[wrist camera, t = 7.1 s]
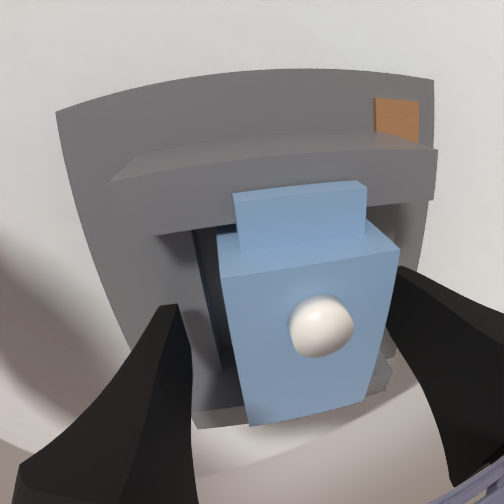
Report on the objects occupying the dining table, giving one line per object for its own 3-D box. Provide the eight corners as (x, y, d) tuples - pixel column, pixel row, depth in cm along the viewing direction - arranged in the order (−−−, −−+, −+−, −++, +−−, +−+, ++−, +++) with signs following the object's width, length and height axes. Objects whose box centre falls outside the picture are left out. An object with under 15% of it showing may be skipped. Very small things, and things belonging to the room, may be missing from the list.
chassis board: (158, 386, 16) (154, 451, 12) (66, 109, 9) (-1, 124, 5) (386, 345, 17) (418, 398, 13) (419, 79, 10) (495, 86, 6)
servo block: (237, 347, 14) (255, 455, 9) (208, 163, 10) (211, 237, 5) (320, 332, 14) (362, 429, 9) (324, 151, 10) (423, 209, 5)
